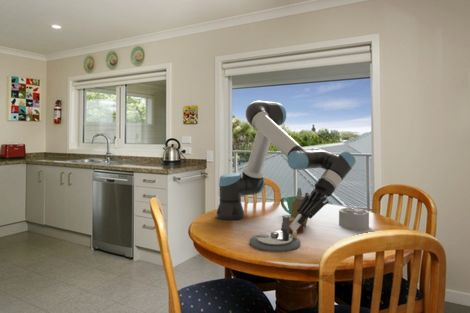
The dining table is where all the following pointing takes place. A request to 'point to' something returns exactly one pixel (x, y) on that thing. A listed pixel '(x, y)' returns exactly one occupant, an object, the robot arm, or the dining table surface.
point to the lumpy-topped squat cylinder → (354, 218)
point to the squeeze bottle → (297, 204)
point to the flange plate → (272, 240)
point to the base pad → (271, 248)
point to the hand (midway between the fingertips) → (292, 229)
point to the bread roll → (291, 229)
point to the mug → (289, 203)
